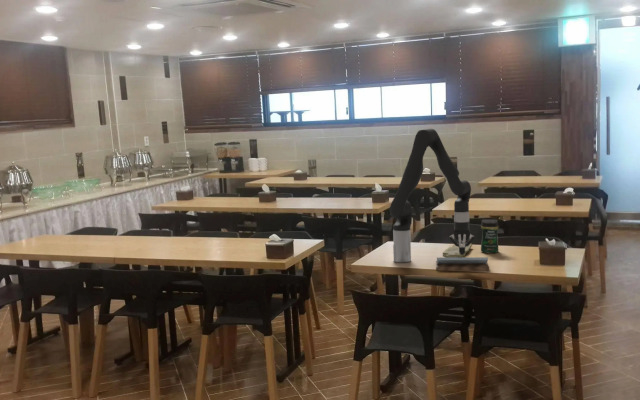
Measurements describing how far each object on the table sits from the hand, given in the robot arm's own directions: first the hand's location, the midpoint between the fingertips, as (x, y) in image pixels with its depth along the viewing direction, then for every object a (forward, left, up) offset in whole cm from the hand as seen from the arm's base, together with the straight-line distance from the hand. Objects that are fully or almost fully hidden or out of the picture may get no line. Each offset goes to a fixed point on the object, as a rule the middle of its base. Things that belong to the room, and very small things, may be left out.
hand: (462, 254), depth 310 cm
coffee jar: (+17, +42, -8) cm, 46 cm away
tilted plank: (0, +3, -5) cm, 5 cm away
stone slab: (-1, +40, -8) cm, 41 cm away
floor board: (0, +6, -8) cm, 10 cm away
